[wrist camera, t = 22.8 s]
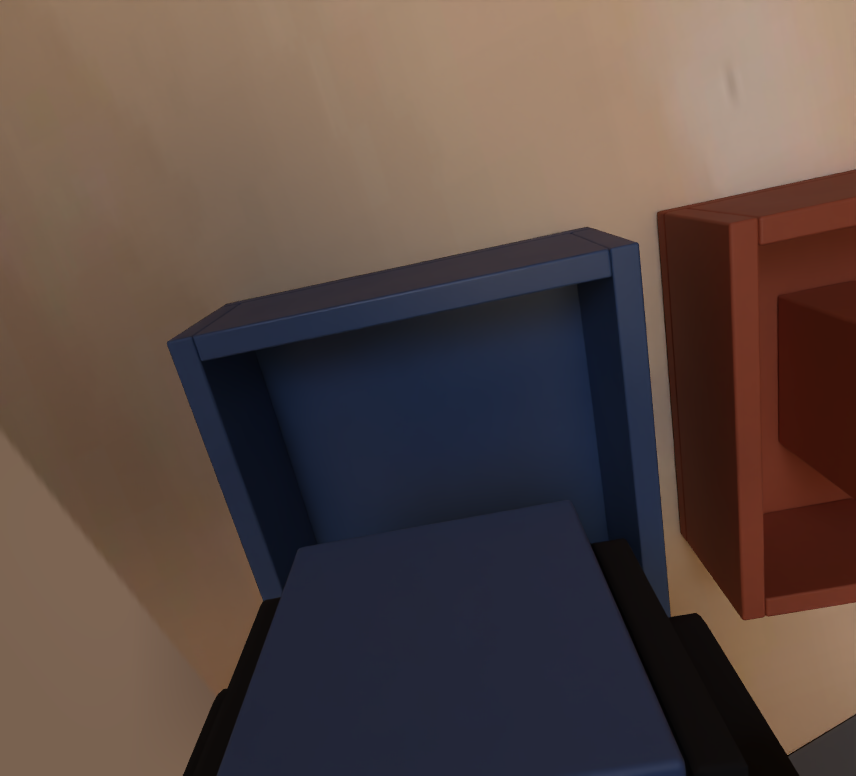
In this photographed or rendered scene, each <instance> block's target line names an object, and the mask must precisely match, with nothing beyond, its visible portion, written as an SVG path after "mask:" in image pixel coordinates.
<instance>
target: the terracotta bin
mask: <svg viewBox="0 0 856 776" xmlns="http://www.w3.org/2000/svg"><path fill="white" fill-rule="evenodd" d="M657 217H658V230H659V244H660V257H661V271H662V284H663V298H664V311H665V325H666V338H667V352H668V365H669V379H670V392H671V406H672V419H673V433H674V446H675V460H676V473H677V487H678V500H679V514H680V527H681V534H682V535H683V537H684V538H685V540H686V541H687V542H688V543H689V545H690V546H691V548H692V549H693V551H694V552H695V553H696V555H697V556H698V558H699V559H700V560H701V562H702V563H703V565H704V566H705V567H706V569H707V570H708V572H709V573H710V575H711V576H712V577H713V579H714V580H715V582H716V583H717V584H718V586H719V587H720V589H721V590H722V591H723V593H724V594H725V596H726V597H727V598H728V600H729V601H730V603H731V604H732V606H733V607H734V608H735V610H736V611H737V613H738V614H739V615H740V617H741V618H742V619H743V620H750V619H756V618H762V617H764V616H765V615H766V616H768V617H769V616H775V615H781V614H787V613H793V612H799V611H805V610H811V609H817V608H823V607H830V606H836V605H842V604H848V603H854V602H856V500H855V499H853V498H852V497H851V496H849V495H848V494H847V493H845V492H844V491H843V490H841V489H840V488H839V487H837V486H836V485H835V484H833V483H832V482H831V481H830V480H828V479H827V478H826V477H824V476H823V475H822V474H820V473H819V472H818V471H816V470H815V469H814V468H812V467H811V466H810V465H808V464H807V463H806V462H804V461H803V460H802V459H801V458H799V457H798V456H797V455H795V454H794V453H793V452H791V451H790V450H789V449H787V448H786V447H785V446H783V445H782V444H781V443H780V442H779V340H778V297H779V296H780V295H783V294H788V293H793V292H798V291H803V290H808V289H813V288H818V287H823V286H828V285H833V284H838V283H843V282H848V281H853V280H856V170H851V171H847V172H842V173H837V174H833V175H828V176H823V177H819V178H814V179H809V180H805V181H800V182H795V183H790V184H786V185H781V186H776V187H772V188H767V189H762V190H758V191H753V192H748V193H744V194H739V195H734V196H730V197H725V198H720V199H715V200H711V201H706V202H701V203H697V204H692V205H687V206H683V207H678V208H673V209H669V210H664V211H659V212H658V213H657Z"/></svg>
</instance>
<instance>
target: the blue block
mask: <svg viewBox="0 0 856 776" xmlns="http://www.w3.org/2000/svg"><path fill="white" fill-rule="evenodd" d="M217 776H686V769H685V761H684V759H683V757H682V754H681V752H680V750H679V747H678V745H677V743H676V741H675V738H674V736H673V734H672V731H671V729H670V727H669V724H668V722H667V720H666V718H665V715H664V713H663V711H662V708H661V706H660V704H659V701H658V699H657V697H656V695H655V692H654V690H653V688H652V685H651V683H650V681H649V678H648V676H647V674H646V672H645V669H644V667H643V665H642V662H641V660H640V658H639V655H638V653H637V651H636V648H635V646H634V644H633V642H632V639H631V637H630V635H629V632H628V630H627V628H626V625H625V623H624V621H623V619H622V616H621V614H620V612H619V609H618V607H617V605H616V602H615V600H614V598H613V596H612V593H611V591H610V589H609V586H608V584H607V582H606V579H605V577H604V575H603V573H602V570H601V568H600V566H599V563H598V561H597V559H596V556H595V554H594V552H593V549H592V547H591V545H590V543H589V540H588V538H587V536H586V533H585V531H584V529H583V526H582V524H581V522H580V520H579V517H578V515H577V513H576V510H575V508H574V506H573V504H572V502H571V501H570V500H563V501H557V502H551V503H546V504H540V505H535V506H529V507H523V508H518V509H512V510H507V511H501V512H495V513H490V514H484V515H479V516H473V517H467V518H462V519H456V520H451V521H445V522H439V523H434V524H428V525H423V526H417V527H411V528H406V529H400V530H395V531H389V532H383V533H378V534H372V535H367V536H361V537H355V538H350V539H344V540H339V541H333V542H327V543H322V544H316V545H311V546H305V547H301V548H299V549H298V551H297V554H296V556H295V559H294V562H293V565H292V567H291V570H290V573H289V576H288V579H287V581H286V584H285V587H284V590H283V593H282V595H281V598H280V601H279V604H278V606H277V609H276V612H275V615H274V618H273V620H272V623H271V626H270V629H269V631H268V634H267V637H266V640H265V643H264V645H263V648H262V651H261V654H260V657H259V659H258V662H257V665H256V668H255V670H254V673H253V676H252V679H251V682H250V684H249V687H248V690H247V693H246V695H245V698H244V701H243V704H242V707H241V709H240V712H239V715H238V718H237V721H236V723H235V726H234V729H233V732H232V734H231V737H230V740H229V743H228V746H227V748H226V751H225V754H224V757H223V759H222V762H221V765H220V768H219V771H218V773H217Z"/></svg>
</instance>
